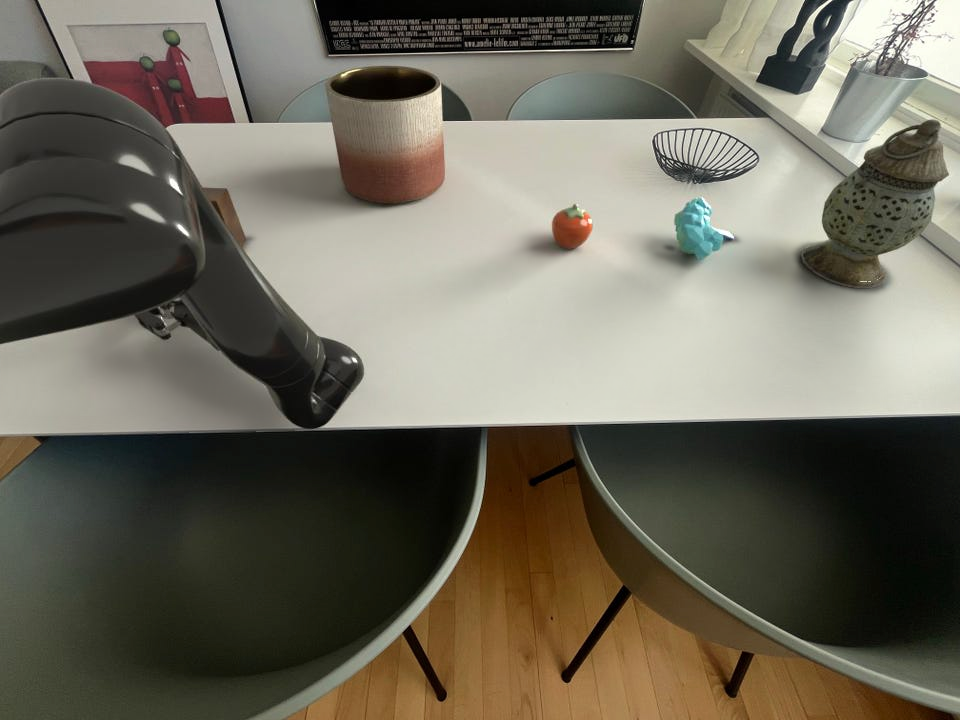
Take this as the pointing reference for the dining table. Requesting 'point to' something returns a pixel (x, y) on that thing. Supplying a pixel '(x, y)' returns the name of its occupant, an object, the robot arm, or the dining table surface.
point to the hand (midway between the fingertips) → (168, 278)
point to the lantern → (879, 207)
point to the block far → (226, 211)
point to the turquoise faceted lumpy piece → (698, 229)
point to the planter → (388, 132)
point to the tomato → (571, 227)
